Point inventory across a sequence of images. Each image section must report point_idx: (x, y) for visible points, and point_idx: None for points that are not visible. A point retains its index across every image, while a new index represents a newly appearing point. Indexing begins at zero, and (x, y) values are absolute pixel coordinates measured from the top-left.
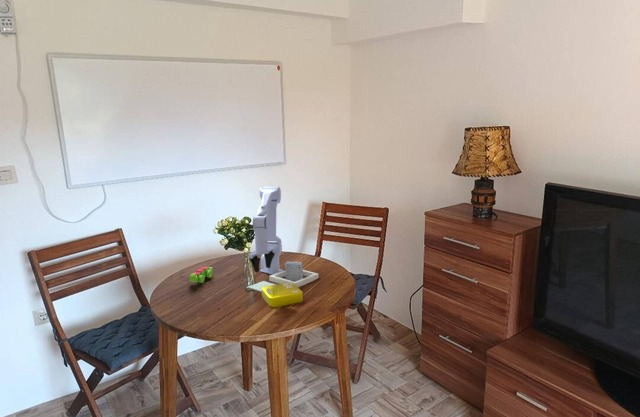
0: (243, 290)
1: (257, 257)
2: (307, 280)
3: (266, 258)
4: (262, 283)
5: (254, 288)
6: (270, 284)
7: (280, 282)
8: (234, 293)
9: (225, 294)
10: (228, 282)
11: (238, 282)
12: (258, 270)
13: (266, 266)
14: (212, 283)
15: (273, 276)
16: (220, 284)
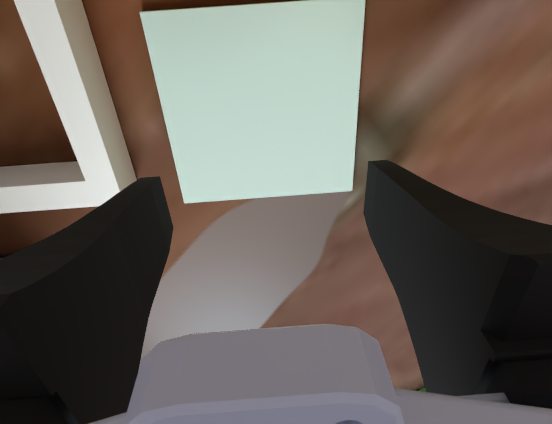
0: (412, 168)
1: (506, 349)
2: None
3: (130, 326)
4: (226, 166)
5: (348, 126)
6: (187, 96)
7: (86, 42)
8: (492, 168)
9: (533, 197)
10: (353, 325)
11: (317, 294)
12: (386, 166)
13: (169, 230)
14: (412, 358)
15: (96, 168)
16: (402, 328)
